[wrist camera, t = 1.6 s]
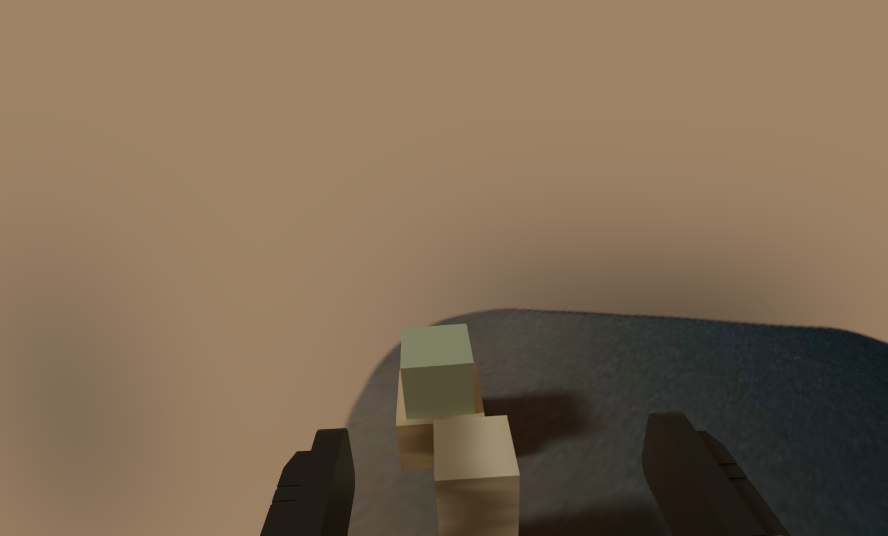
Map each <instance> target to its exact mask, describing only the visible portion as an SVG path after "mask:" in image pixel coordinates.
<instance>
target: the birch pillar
mask: <svg viewBox="0 0 888 536" xmlns="http://www.w3.org/2000/svg"><path fill="white" fill-rule="evenodd" d="M433 428H434V474H435V491H436V503H437V514H438V526H439V536H518V532H519V484H520V474H519V470H518V465H517V460H516V456H515V451H514V446H513V442H512V437H511V432H510V428H509V423H508V419H507V415H503V416H487V417H472V418H457V419H441V420H433Z"/></svg>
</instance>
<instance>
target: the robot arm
mask: <svg viewBox="0 0 888 536" xmlns="http://www.w3.org/2000/svg"><path fill="white" fill-rule="evenodd" d="M642 467H643V472H644V475H645V478H646V481H647V483H648V485H649V487H650V489H651V491H652V493H653V495H654V497H655V499H656V501H657V503H658V505H659V507H660V509H661V511H662V513H663V515H664V517H665V519H666V521H667V523H668V525H669V527H670V529H671V531H672V533H673V535H674V536H790V535H789V533H788V532H787V531H786V529H785V528H784V527H783V525H782V524H781V523H780V521H779V520H778V518H777V517H776V516H775V514H774V513H773V512H772V510H771V509H770V507H769V506H768V505H767V503H766V502H765V501H764V499H763V498H762V497H761V495H760V494H759V492H758V491H757V490H756V488H755V487H754V486H753V484H752V483H751V482H750V481H748V479H747V476H746V475H745V473H744V472H743V471H742V469H741V468H740V467H739V466H737V462H736V461H735V460H734V458H733V457H732V456H731V454H730V453H729V451H728V450H727V449H726V447H725V446H724V445H723V444H722V443H720V442H719V441H718V440H716V439H715V438H714V437H712V436H711V435H710V434H709V433H707V432H706V431H695V429H694V428H693V426H692V425H691V423H690V422H689V420H688V419H687V418H686V416H685V415H684V414H683V413H682V412H662V413H651V414H650V415H649V417H648V422H647V428H646V434H645V440H644V446H643V452H642ZM354 490H355V472H354V465H353V459H352V453H351V447H350V441H349V435H348V430H347V429H346V428H340V429H321V430H318V431H317V432H316V435H315V439H314V442H313V445H312V449H311V451H297V452H296V453H295V455H294V456H293V457H292V458H291V459H290V461H289V462H288V463H287V464H286V465H285V467H284V468H283V471H282V474H281V477H280V479H279V482H278V485H277V490H276V491H275V494H274V497H273V500H272V505H270V508H269V512H268V514H267V517H266V520H265V523H264V526H263V529H262V531H261V534H260V536H347V533H348V527H349V522H350V516H351V510H352V504H353V498H354Z"/></svg>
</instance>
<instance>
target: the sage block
mask: <svg viewBox="0 0 888 536" xmlns="http://www.w3.org/2000/svg"><path fill="white" fill-rule="evenodd" d="M400 369H401V378H402V387H403V396H404V405H405V413H406V420H407V419H419V418H432V417H445V416H457V415H469V414H475V391H474V362H473V357H472V351H471V346H470V341H469V335H468V330H467V324H456V325H443V326H429V327H416V328H403V329H402V340H401V366H400Z"/></svg>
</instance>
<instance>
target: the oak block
mask: <svg viewBox="0 0 888 536" xmlns="http://www.w3.org/2000/svg"><path fill="white" fill-rule="evenodd" d="M474 391H475V414H469V415H457V416H445V417H432V418H419V419H407V420H406V413H405V405H404V396H403V387H402V378H401V370H400V371H399V387H398V402H397V418H396V430H397V438H398V447H399V455H400V463H401V471H404V470H418V469H432V468H434V428H433V420H441V419H457V418H472V417H485V415H484V409H483V403H482V397H481V391H480V385H479V379H478V373H477V367H476V365H474Z"/></svg>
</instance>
